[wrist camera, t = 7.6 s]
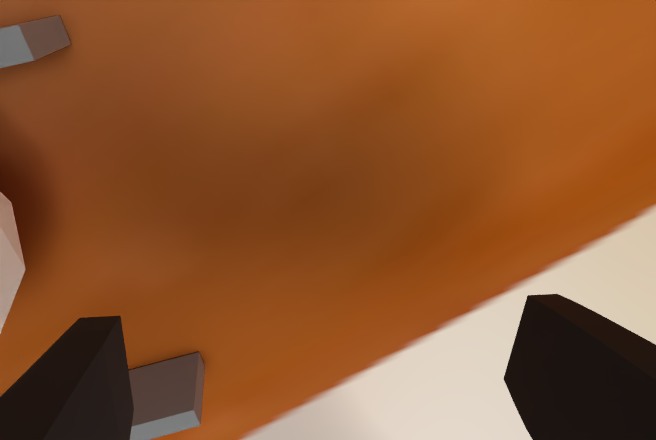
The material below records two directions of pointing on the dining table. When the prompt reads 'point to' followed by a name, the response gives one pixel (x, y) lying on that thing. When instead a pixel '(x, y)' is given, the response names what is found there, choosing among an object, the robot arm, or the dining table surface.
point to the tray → (148, 381)
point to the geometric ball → (9, 258)
